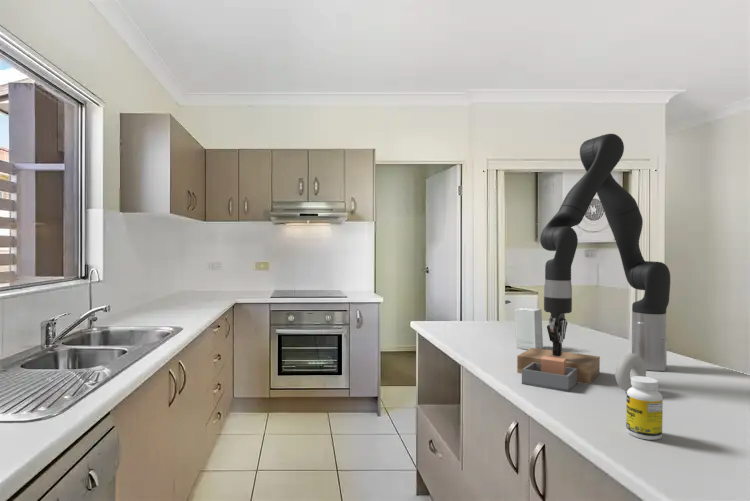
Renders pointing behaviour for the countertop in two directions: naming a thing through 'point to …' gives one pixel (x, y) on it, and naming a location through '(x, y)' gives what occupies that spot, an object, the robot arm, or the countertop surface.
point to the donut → (629, 370)
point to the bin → (549, 378)
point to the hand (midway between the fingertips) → (557, 355)
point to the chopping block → (584, 363)
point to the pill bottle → (644, 409)
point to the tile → (553, 365)
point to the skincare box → (528, 328)
